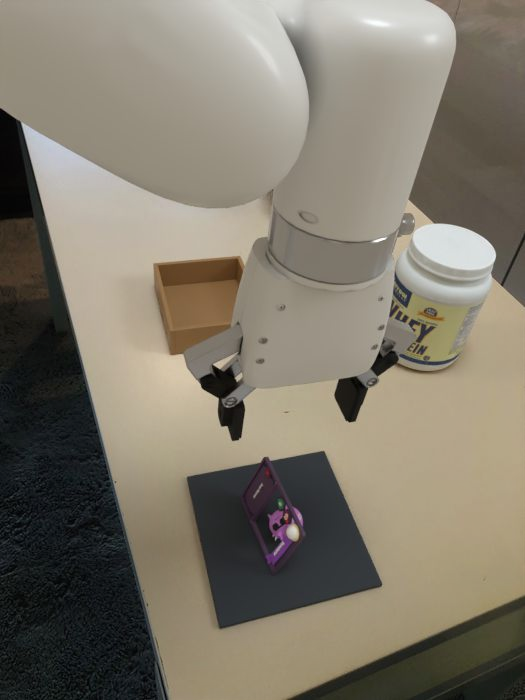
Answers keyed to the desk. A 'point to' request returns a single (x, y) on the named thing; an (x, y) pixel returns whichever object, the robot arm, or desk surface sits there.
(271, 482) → the purple toy figure
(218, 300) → the box
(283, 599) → the mat
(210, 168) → the robot arm
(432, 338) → the supplement tub
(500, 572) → the desk surface
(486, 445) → the desk surface
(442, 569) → the desk surface
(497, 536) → the desk surface
